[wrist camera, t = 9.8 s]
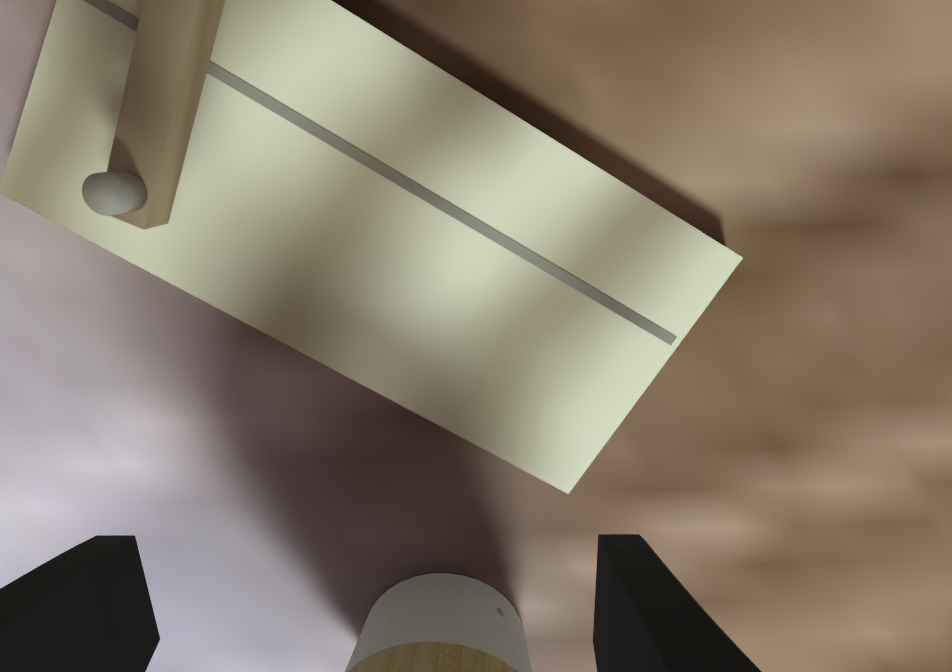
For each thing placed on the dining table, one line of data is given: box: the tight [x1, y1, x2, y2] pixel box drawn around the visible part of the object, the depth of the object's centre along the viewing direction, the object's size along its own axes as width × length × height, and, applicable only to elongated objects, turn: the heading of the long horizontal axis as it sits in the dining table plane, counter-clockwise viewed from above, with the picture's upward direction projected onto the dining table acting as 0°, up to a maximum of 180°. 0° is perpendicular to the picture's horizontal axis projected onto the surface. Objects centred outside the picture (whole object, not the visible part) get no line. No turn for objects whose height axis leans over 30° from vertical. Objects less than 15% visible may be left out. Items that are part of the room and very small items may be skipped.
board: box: [0, 0, 742, 494], centre depth 17 cm, size 19×9×1 cm, turn 60°
